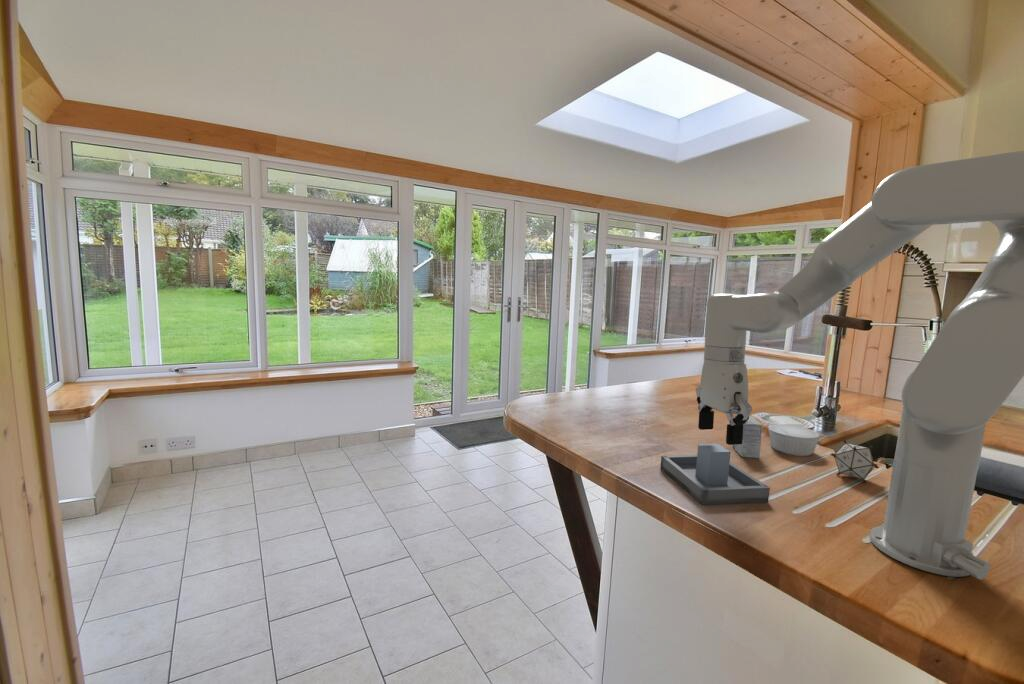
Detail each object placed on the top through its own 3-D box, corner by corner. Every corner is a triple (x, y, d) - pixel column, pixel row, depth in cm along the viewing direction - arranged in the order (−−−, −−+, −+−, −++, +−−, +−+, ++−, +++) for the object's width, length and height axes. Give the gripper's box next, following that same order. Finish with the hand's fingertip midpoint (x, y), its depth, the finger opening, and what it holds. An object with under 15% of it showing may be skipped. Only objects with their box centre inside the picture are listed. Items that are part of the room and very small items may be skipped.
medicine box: (759, 459, 111) (763, 425, 110) (740, 457, 112) (743, 423, 111) (749, 447, 119) (753, 415, 118) (731, 446, 120) (734, 414, 118)
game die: (852, 497, 101) (853, 470, 95) (821, 469, 108) (820, 443, 102) (889, 478, 101) (891, 451, 95) (855, 452, 108) (856, 425, 102)
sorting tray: (768, 502, 89) (769, 487, 88) (702, 505, 87) (703, 490, 86) (716, 466, 106) (718, 454, 105) (660, 468, 103) (661, 455, 103)
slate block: (727, 483, 94) (730, 451, 93) (707, 484, 93) (710, 452, 92) (714, 474, 99) (717, 443, 98) (695, 475, 98) (698, 444, 97)
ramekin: (756, 444, 122) (759, 425, 121) (787, 440, 126) (789, 422, 125) (795, 460, 111) (798, 439, 111) (827, 455, 115) (829, 435, 115)
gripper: (771, 360, 84) (764, 449, 86) (715, 349, 101) (711, 423, 103) (734, 361, 83) (728, 451, 85) (684, 349, 100) (680, 424, 102)
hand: (719, 436), depth 94 cm, fingers open, 9 cm apart
